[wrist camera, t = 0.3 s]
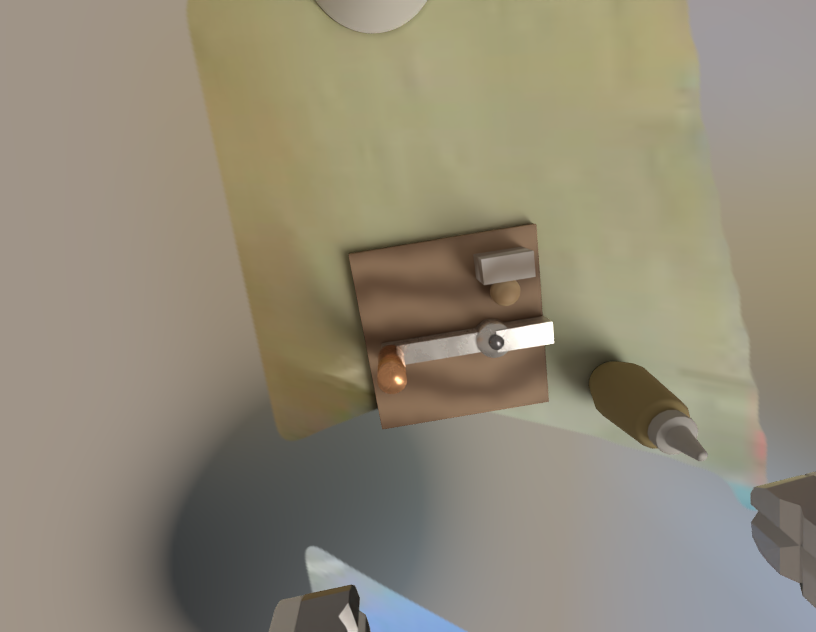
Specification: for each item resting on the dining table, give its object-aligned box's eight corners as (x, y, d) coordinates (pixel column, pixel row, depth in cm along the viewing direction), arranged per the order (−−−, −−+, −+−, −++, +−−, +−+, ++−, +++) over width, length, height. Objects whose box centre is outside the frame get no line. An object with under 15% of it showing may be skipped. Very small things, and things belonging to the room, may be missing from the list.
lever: (375, 337, 54) (373, 364, 45) (543, 309, 54) (574, 330, 46) (381, 369, 55) (380, 401, 47) (546, 341, 55) (576, 368, 47)
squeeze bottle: (596, 417, 61) (682, 504, 43) (569, 374, 59) (648, 448, 41) (646, 386, 60) (754, 463, 42) (621, 341, 58) (723, 403, 40)
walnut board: (349, 253, 52) (345, 259, 47) (532, 223, 53) (549, 226, 47) (382, 424, 59) (382, 447, 54) (545, 397, 59) (561, 417, 54)
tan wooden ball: (485, 276, 53) (492, 282, 49) (513, 271, 53) (523, 277, 50) (488, 304, 54) (495, 311, 50) (516, 299, 54) (525, 306, 50)
